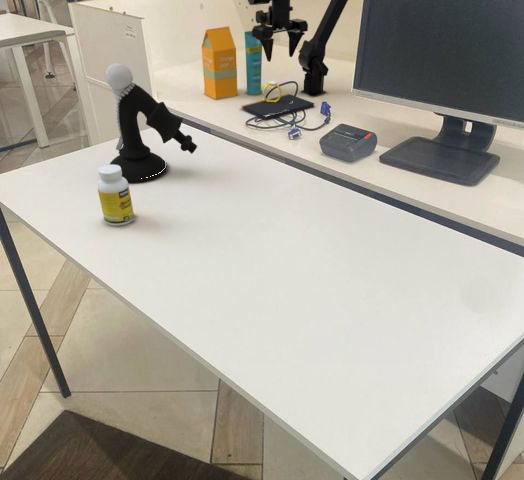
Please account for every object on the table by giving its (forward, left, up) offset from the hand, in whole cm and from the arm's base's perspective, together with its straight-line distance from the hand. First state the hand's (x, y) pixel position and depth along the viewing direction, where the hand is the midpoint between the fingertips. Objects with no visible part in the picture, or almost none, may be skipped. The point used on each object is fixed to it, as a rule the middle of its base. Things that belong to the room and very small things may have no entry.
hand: (280, 59), depth 172 cm
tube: (+3, -10, -12) cm, 16 cm away
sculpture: (+63, +25, -12) cm, 69 cm away
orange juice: (+13, -16, -12) cm, 24 cm away
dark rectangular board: (+7, +7, -12) cm, 16 cm away
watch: (+7, +4, -11) cm, 14 cm away
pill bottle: (+82, +43, -12) cm, 93 cm away
